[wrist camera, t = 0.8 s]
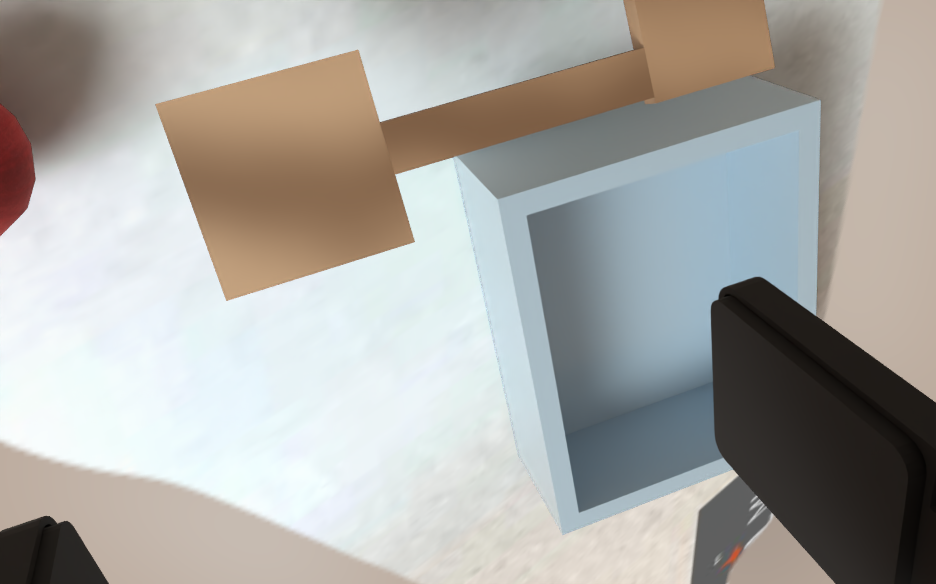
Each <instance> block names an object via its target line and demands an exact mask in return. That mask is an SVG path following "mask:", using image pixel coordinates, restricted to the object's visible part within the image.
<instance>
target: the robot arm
mask: <svg viewBox="0 0 936 584" xmlns="http://www.w3.org/2000/svg"><path fill="white" fill-rule="evenodd" d="M711 341H712V372H713V403H714V433H715V441H716V444H717V447H718V449H719V452H720V453H721V455H722V457H723V458H724V459H725V461H726V462H727V463H728V464H729V465H730V466H731V467H732V468H733V470H734V471H735V472H736V473H737V474H738V475H739V476H740V477H741V479H742V480H743V481H744V482H745V483H746V484H747V485H748V486H749V487H750V489H751V490H752V491H753V492H754V493H755V494H756V495H757V496H758V498H759V499H760V500H761V501H762V502H763V503H764V504H765V505H766V506H767V508H768V509H769V510H770V511H771V512H772V513H773V514H774V515H775V517H776V518H777V519H778V520H779V521H780V522H781V523H782V524H783V525H784V527H785V528H786V529H787V530H788V531H789V532H790V533H791V534H792V536H793V537H794V538H795V539H796V540H797V541H798V542H799V543H800V544H801V546H802V547H803V548H804V549H805V550H806V551H807V552H808V553H809V554H810V555H811V557H812V558H813V559H814V560H815V561H816V562H817V563H818V565H819V566H820V567H821V568H822V569H823V570H824V571H825V572H826V574H827V575H828V576H829V577H830V578H831V579H832V580H833V581H834V582H835V584H936V402H934V401H933V400H931V399H930V398H929V397H927V396H926V395H924V394H923V393H922V392H920V391H919V390H918V389H916V388H915V387H914V386H912V385H911V384H909V383H908V382H907V381H905V380H904V379H902V378H901V377H900V376H898V375H897V374H895V373H894V372H893V371H891V370H890V369H889V368H887V367H886V366H884V365H883V364H882V363H880V362H879V361H878V360H876V359H875V358H873V357H872V356H871V355H869V354H868V353H867V352H865V351H864V350H862V349H861V348H860V347H858V346H857V345H855V344H854V343H853V342H851V341H850V340H848V339H847V338H846V337H844V336H843V335H842V334H840V333H839V332H838V331H836V330H835V329H833V328H832V327H831V326H829V325H828V324H827V323H825V322H824V321H822V320H821V319H820V318H818V317H817V316H815V315H814V314H813V313H811V312H810V311H809V310H807V309H806V308H804V307H803V306H802V305H800V304H799V303H798V302H796V301H795V300H793V299H792V298H791V297H789V296H788V295H787V294H785V293H784V292H782V291H781V290H780V289H778V288H777V287H775V286H774V285H773V284H771V283H770V282H769V281H767V280H766V279H764V278H762V277H753V278H750V279H747V280H744V281H741V282H738V283H735V284H732V285H729V286H726V287H724V288H722V289H721V290H720V293H719V296H718V300H715V301H714V302H712V304H711ZM0 584H109V583H108V582H107V580H106V579H105V577H104V575H103V574H102V572H101V570H100V569H99V567H98V565H97V564H96V562H95V561H94V559H93V557H92V556H91V554H90V553H89V551H88V549H87V548H86V546H85V545H84V543H83V541H82V539H81V538H80V536H79V535H78V533H77V531H76V530H75V528H74V527H73V525H72V524H71V523H70V522H68V521H64V522H61V523H58V524H57V523H56V521H55V520H54V519H53V518H51V517H50V516H44V517H40V518H38V519H35V520H31V521H28V522H26V523H23V524H20V525H17V526H14V527H11V528H8V529H5V530H2V531H1V532H0Z"/></svg>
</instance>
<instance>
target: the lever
mask: <svg viewBox="0 0 936 584" xmlns="http://www.w3.org/2000/svg"><path fill="white" fill-rule="evenodd" d="M623 1H624V6H625V10H626V15H627V20H628V25H629V30H630V34H631V39H632V44H633V49H634V50H632V51H628V52H625V53H621V54H617V55H614V56H610V57H607V58H603V59H600V60H596V61H593V62H589V63H586V64H582V65H579V66H575V67H572V68H568V69H565V70H561V71H558V72H554V73H551V74H547V75H544V76H540V77H537V78H533V79H530V80H526V81H523V82H519V83H516V84H512V85H509V86H505V87H502V88H498V89H495V90H491V91H488V92H484V93H481V94H477V95H474V96H470V97H467V98H463V99H460V100H456V101H453V102H449V103H446V104H442V105H439V106H435V107H432V108H428V109H425V110H421V111H418V112H414V113H411V114H407V115H404V116H400V117H397V118H393V119H390V120H386V121H383V122H379V119H378V115H377V112H376V108H375V105H374V101H373V98H372V95H371V91H370V88H369V84H368V81H367V78H366V74H365V71H364V67H363V64H362V61H361V57H360V54H359V50H355V51H352V52H348V53H344V54H340V55H337V56H333V57H329V58H326V59H322V60H318V61H314V62H311V63H307V64H303V65H300V66H296V67H292V68H288V69H285V70H281V71H277V72H274V73H270V74H266V75H262V76H259V77H255V78H251V79H248V80H244V81H240V82H236V83H233V84H229V85H225V86H222V87H218V88H214V89H210V90H207V91H203V92H199V93H196V94H192V95H188V96H184V97H181V98H177V99H173V100H170V101H166V102H162V103H158V104H155V105H156V108H157V110H158V113H159V116H160V119H161V122H162V124H163V127H164V130H165V133H166V135H167V138H168V141H169V144H170V146H171V149H172V152H173V155H174V157H175V160H176V163H177V166H178V168H179V171H180V174H181V177H182V180H183V182H184V185H185V188H186V191H187V193H188V196H189V199H190V202H191V204H192V207H193V210H194V213H195V215H196V218H197V221H198V224H199V226H200V229H201V232H202V235H203V238H204V240H205V243H206V246H207V249H208V251H209V254H210V257H211V260H212V262H213V265H214V268H215V271H216V273H217V276H218V279H219V282H220V284H221V287H222V290H223V293H224V296H225V298H226V301H227V300H231V299H234V298H237V297H240V296H244V295H247V294H250V293H253V292H256V291H260V290H263V289H266V288H269V287H272V286H276V285H279V284H282V283H285V282H288V281H292V280H295V279H298V278H301V277H304V276H308V275H311V274H314V273H317V272H320V271H324V270H327V269H330V268H333V267H336V266H340V265H343V264H346V263H349V262H352V261H356V260H359V259H362V258H365V257H368V256H372V255H375V254H378V253H381V252H384V251H388V250H391V249H394V248H397V247H400V246H404V245H407V244H410V243H413V242H415V241H414V238H413V234H412V231H411V228H410V224H409V221H408V217H407V214H406V211H405V207H404V204H403V200H402V197H401V194H400V190H399V187H398V183H397V180H396V176H395V174H398V173H402V172H405V171H408V170H412V169H415V168H419V167H422V166H425V165H429V164H432V163H435V162H439V161H442V160H445V159H449V158H452V157H456V156H459V155H462V154H466V153H469V152H472V151H476V150H479V149H483V148H486V147H489V146H493V145H496V144H499V143H503V142H506V141H509V140H513V139H516V138H520V137H523V136H526V135H530V134H533V133H536V132H540V131H543V130H547V129H550V128H553V127H557V126H560V125H563V124H567V123H570V122H573V121H577V120H580V119H584V118H587V117H590V116H594V115H597V114H600V113H604V112H607V111H610V110H614V109H617V108H621V107H624V106H627V105H631V104H634V103H637V102H641V101H644V102H645V104H656V103H659V102H663V101H666V100H669V99H673V98H676V97H679V96H683V95H686V94H689V93H693V92H696V91H699V90H703V89H706V88H710V87H713V86H716V85H720V84H723V83H726V82H730V81H733V80H736V79H740V78H743V77H746V76H750V75H753V74H756V73H760V72H763V71H767V70H770V69H773V68H775V65H774V59H773V53H772V47H771V41H770V35H769V29H768V23H767V17H766V11H765V5H764V0H623Z"/></svg>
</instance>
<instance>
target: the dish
mask: <svg viewBox="0 0 936 584" xmlns="http://www.w3.org/2000/svg"><path fill="white" fill-rule="evenodd" d="M820 116H821V100H820V99H817V98H814V97H811V96H809V95H806V94H803V93H800V92H797V91H794V90H791V89H788V88H785V87H782V86H780V85H777V84H774V83H771V82H768V81H765V80H762V79H759V78H756V77H753V76H746V77H743V78H740V79H736V80H733V81H730V82H726V83H723V84H720V85H716V86H713V87H710V88H706V89H703V90H699V91H696V92H693V93H689V94H686V95H683V96H679V97H676V98H673V99H669V100H666V101H663V102H659V103H656V104H645V102H644V101H641V102H637V103H634V104H631V105H627V106H624V107H621V108H617V109H614V110H610V111H607V112H604V113H600V114H597V115H594V116H590V117H587V118H584V119H580V120H577V121H573V122H570V123H567V124H563V125H560V126H557V127H553V128H550V129H547V130H543V131H540V132H536V133H533V134H530V135H526V136H523V137H520V138H516V139H513V140H509V141H506V142H503V143H499V144H496V145H493V146H489V147H486V148H483V149H479V150H476V151H472V152H469V153H466V154H462V155H459V156H456V157H454V161H455V166H456V170H457V175H458V180H459V184H460V189H461V193H462V198H463V203H464V207H465V212H466V216H467V221H468V226H469V230H470V235H471V239H472V244H473V249H474V253H475V258H476V262H477V267H478V272H479V276H480V281H481V285H482V290H483V295H484V299H485V304H486V308H487V313H488V318H489V322H490V327H491V331H492V336H493V341H494V345H495V350H496V354H497V359H498V364H499V368H500V373H501V377H502V382H503V387H504V391H505V396H506V400H507V405H508V410H509V414H510V419H511V423H512V428H513V433H514V437H515V442H516V446H517V451H518V456H519V458H520V460H521V462H522V463H523V465H524V467H525V469H526V470H527V472H528V474H529V476H530V478H531V479H532V481H533V483H534V485H535V486H536V488H537V490H538V492H539V494H540V495H541V497H542V499H543V501H544V503H545V504H546V506H547V508H548V510H549V511H550V513H551V515H552V517H553V519H554V520H555V522H556V524H557V526H558V527H559V529H560V531H561V533H562V535H564V534H566V533H569V532H572V531H574V530H577V529H579V528H582V527H585V526H587V525H590V524H592V523H595V522H598V521H600V520H603V519H605V518H608V517H611V516H613V515H616V514H618V513H621V512H624V511H626V510H629V509H631V508H634V507H637V506H639V505H642V504H644V503H647V502H650V501H652V500H655V499H657V498H660V497H663V496H665V495H668V494H670V493H673V492H676V491H678V490H681V489H683V488H686V487H689V486H691V485H694V484H696V483H699V482H702V481H704V480H707V479H709V478H712V477H715V476H717V475H720V474H722V473H725V472H728V471H730V470H733V468H732V467H731V466H730V465H729V464H728V463H727V462H726V461H725V459H724V458H723V457H722V455H721V453H720V452H719V449H718V447H717V444H716V441H715V433H714V403H713V372H712V341H711V304H712V302H714V301H715V300H718V296H719V293H720V290H721V289H722V288H724V287H726V286H729V285H732V284H735V283H738V282H741V281H744V280H747V279H750V278H753V277H762V278H764V279H766V280H767V281H769V282H770V283H771V284H773V285H774V286H775V287H777V288H778V289H780V290H781V291H782V292H784V293H785V294H787V295H788V296H789V297H791V298H792V299H793V300H795V301H796V302H798V303H799V304H800V305H802V306H803V307H804V308H806V309H807V310H809V311H810V312H811V313H813V314H814V315H815V316H816V302H817V255H818V209H819V163H820Z"/></svg>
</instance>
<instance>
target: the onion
mask: <svg viewBox="0 0 936 584" xmlns="http://www.w3.org/2000/svg"><path fill="white" fill-rule="evenodd" d="M35 179H36V178H35V171H34V164H33V156H32V149H31V143H30V141H29V140H28V138H27V136H26V135H25V133H24V131H23V129H22V128H21V126H20V124H19V122H18V121H17V119H16V117H15V116H14V115H13V114H12V113H11V112H9V111H8V110H7V109H6V108H5V107H4V106H2V105H1V104H0V236H1V235H2V234H3V233H4V232H5V231H6V230H7V229H8V228H9V227H10V226H11V225H12V224H13V223H14V222H15V221H16V220H17V219H18V218H19V217H20V216H21V215H22V214H23V213H24V211H25V210H26V209H27V208H28V204H29V201H30V197H31V194H32V190H33V186H34V183H35Z"/></svg>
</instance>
